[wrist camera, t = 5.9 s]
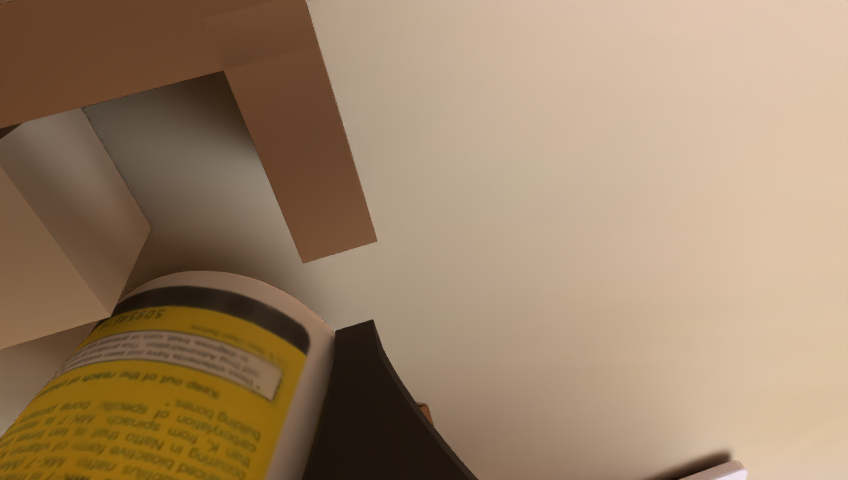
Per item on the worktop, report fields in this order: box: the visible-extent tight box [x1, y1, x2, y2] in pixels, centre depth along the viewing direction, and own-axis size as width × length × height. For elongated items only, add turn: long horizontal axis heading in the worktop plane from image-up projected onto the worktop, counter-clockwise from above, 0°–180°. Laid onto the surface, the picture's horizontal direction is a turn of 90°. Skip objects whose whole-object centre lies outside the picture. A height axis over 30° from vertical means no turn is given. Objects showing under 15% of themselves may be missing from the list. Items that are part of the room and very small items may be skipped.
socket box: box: [0, 0, 434, 427], centre depth 9 cm, size 14×14×3 cm
